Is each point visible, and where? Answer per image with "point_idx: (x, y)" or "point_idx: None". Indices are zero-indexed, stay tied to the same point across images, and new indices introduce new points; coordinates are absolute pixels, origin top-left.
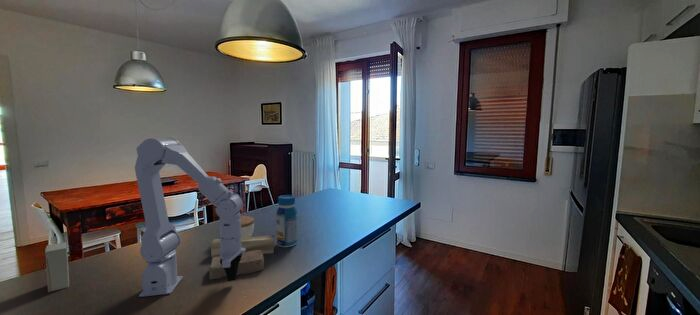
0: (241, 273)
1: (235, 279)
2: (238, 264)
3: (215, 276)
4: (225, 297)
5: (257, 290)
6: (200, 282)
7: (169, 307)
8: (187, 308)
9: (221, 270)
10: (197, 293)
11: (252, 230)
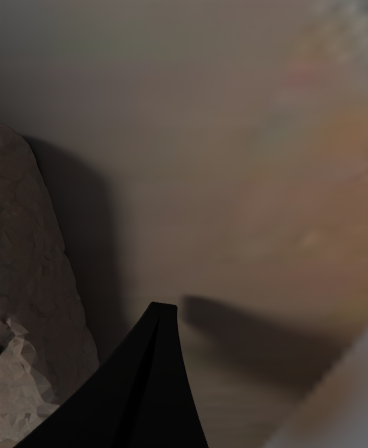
0: (66, 261)
1: (173, 306)
2: (113, 400)
3: (91, 363)
4: (273, 318)
5: (281, 172)
6: None
7: (254, 444)
8: (287, 413)
9: (68, 372)
10: (196, 395)
11: None
